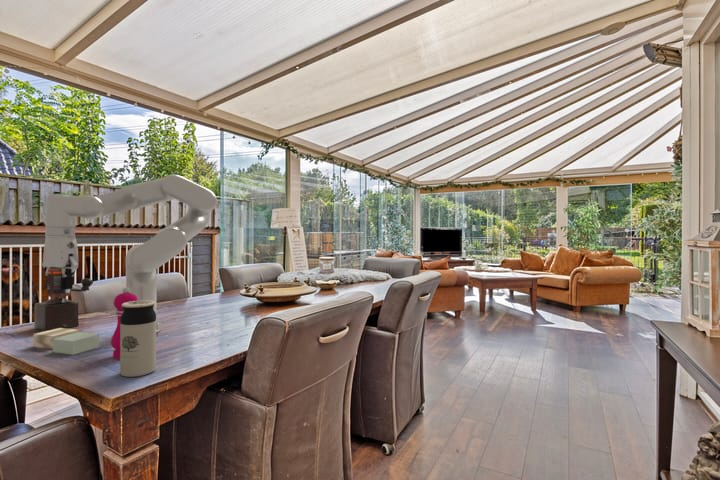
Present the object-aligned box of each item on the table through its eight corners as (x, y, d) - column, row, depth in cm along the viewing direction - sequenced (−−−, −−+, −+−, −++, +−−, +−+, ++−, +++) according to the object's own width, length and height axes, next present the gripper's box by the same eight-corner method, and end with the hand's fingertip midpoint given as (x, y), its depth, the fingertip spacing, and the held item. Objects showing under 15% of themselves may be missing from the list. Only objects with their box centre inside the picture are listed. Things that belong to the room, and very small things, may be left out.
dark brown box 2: (46, 332, 133) (46, 282, 133) (33, 328, 139) (33, 279, 139) (95, 323, 147) (95, 278, 146) (81, 320, 152) (81, 276, 152)
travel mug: (139, 365, 102) (139, 299, 102) (162, 368, 100) (163, 301, 100) (112, 375, 95) (112, 304, 94) (137, 379, 92) (137, 306, 92)
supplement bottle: (74, 295, 123) (75, 261, 123) (52, 298, 118) (53, 262, 118) (65, 293, 126) (65, 260, 126) (43, 296, 120) (44, 260, 120)
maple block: (78, 342, 123) (78, 329, 123) (52, 349, 115) (52, 336, 115) (60, 339, 125) (60, 327, 125) (33, 346, 117) (33, 333, 117)
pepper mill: (118, 361, 105) (119, 290, 104) (106, 356, 109) (106, 287, 108) (145, 354, 111) (145, 287, 111) (132, 350, 115) (132, 285, 114)
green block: (98, 346, 118) (98, 334, 118) (73, 354, 110) (73, 341, 110) (79, 344, 120) (79, 332, 120) (53, 352, 112) (53, 338, 112)
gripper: (91, 233, 122) (90, 288, 122) (54, 232, 128) (53, 285, 128) (66, 233, 115) (65, 291, 115) (29, 232, 121) (28, 288, 121)
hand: (59, 287), depth 122 cm, fingers closed on supplement bottle, 6 cm apart
